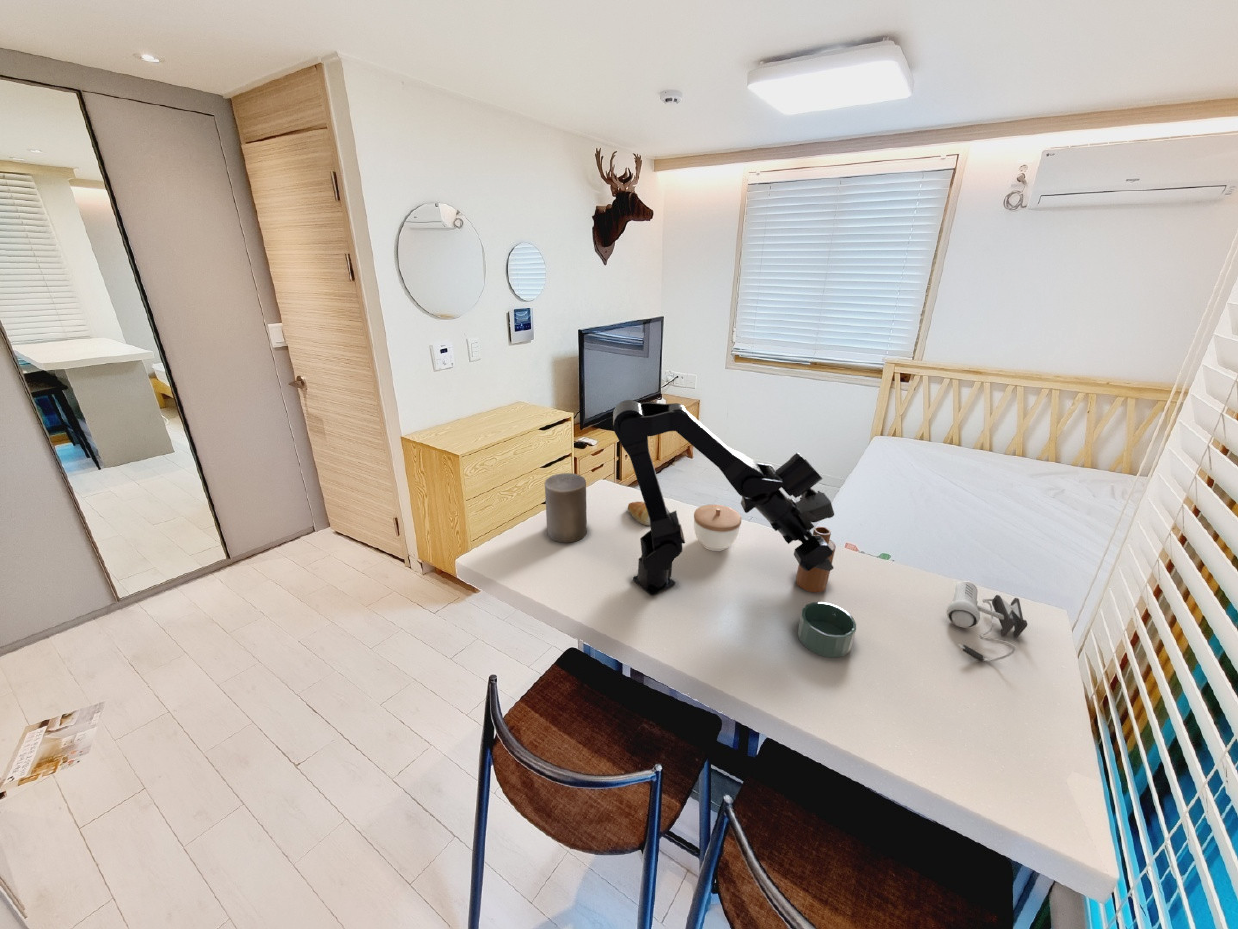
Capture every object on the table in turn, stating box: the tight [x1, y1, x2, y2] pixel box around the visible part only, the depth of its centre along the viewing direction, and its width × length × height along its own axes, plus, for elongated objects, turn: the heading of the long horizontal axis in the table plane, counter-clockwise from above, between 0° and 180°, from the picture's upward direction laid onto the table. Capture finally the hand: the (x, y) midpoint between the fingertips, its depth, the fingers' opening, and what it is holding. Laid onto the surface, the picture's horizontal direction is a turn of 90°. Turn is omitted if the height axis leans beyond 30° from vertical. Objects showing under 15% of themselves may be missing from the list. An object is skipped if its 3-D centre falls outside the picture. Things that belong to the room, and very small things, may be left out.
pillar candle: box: [544, 472, 588, 544], centre depth 118 cm, size 10×10×15 cm
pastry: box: [627, 501, 650, 526], centre depth 129 cm, size 9×7×4 cm
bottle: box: [795, 525, 837, 594], centre depth 103 cm, size 6×6×13 cm
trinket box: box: [693, 503, 742, 552], centre depth 116 cm, size 11×11×9 cm
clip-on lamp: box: [946, 580, 1028, 662], centre depth 91 cm, size 12×6×18 cm
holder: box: [797, 601, 857, 659], centre depth 90 cm, size 9×9×5 cm
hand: (823, 557), depth 102 cm, fingers open, 8 cm apart
